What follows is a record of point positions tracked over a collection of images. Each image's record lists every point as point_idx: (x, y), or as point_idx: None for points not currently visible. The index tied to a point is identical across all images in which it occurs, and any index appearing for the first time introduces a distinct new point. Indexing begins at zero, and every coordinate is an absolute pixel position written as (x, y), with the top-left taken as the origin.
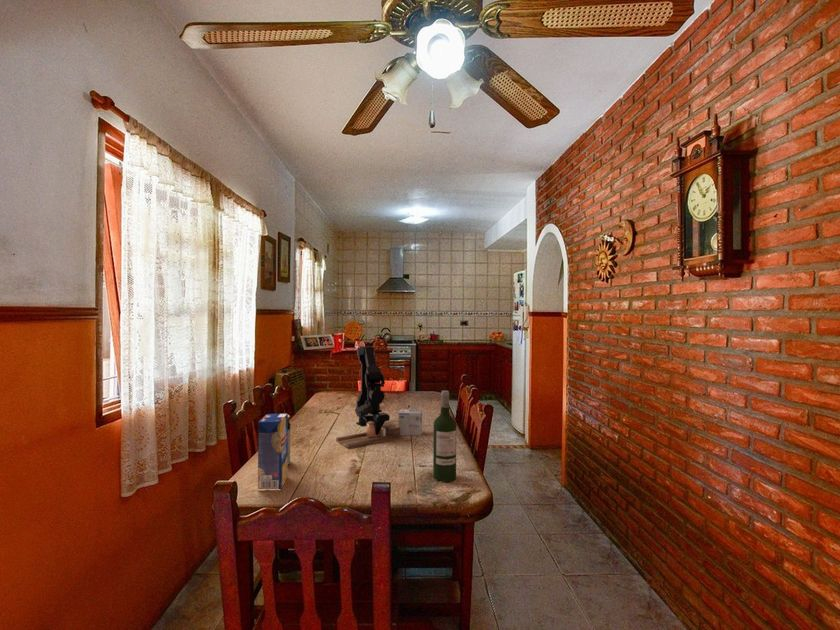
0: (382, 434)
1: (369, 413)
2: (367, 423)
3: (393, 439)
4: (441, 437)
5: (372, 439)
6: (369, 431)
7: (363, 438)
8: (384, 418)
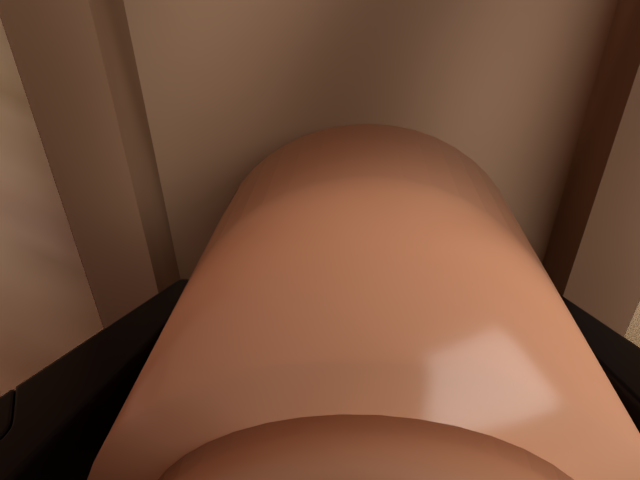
0: None
1: None
2: (518, 423)
3: None
4: None
5: (32, 92)
6: (270, 208)
7: (446, 40)
8: None
